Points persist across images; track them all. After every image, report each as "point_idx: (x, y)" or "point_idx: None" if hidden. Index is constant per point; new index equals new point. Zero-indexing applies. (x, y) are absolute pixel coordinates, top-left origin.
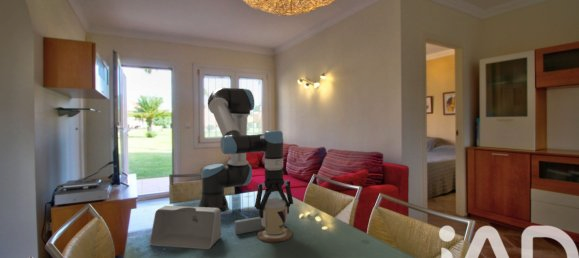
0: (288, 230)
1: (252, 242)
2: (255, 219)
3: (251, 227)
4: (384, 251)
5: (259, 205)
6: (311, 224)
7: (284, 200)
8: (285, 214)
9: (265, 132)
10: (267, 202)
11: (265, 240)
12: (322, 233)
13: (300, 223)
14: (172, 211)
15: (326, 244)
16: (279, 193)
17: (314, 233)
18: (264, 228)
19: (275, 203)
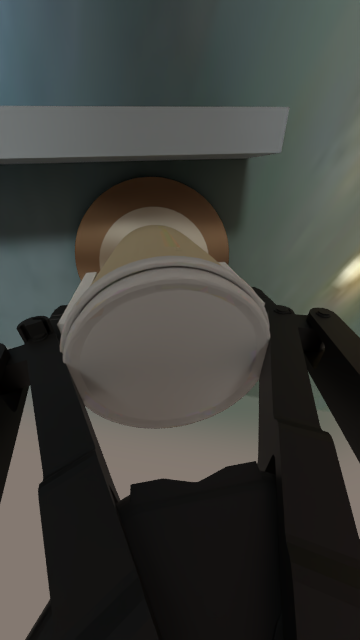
0: (221, 261)
1: (52, 294)
2: (46, 158)
3: (34, 162)
4: (324, 408)
5: (20, 404)
6: (350, 215)
7: (259, 379)
8: None
9: None
10: (105, 367)
11: None
12: (308, 309)
13: (327, 175)
14: None
15: None
16: (270, 402)
17: (289, 301)
18: (122, 182)
19: (166, 401)
